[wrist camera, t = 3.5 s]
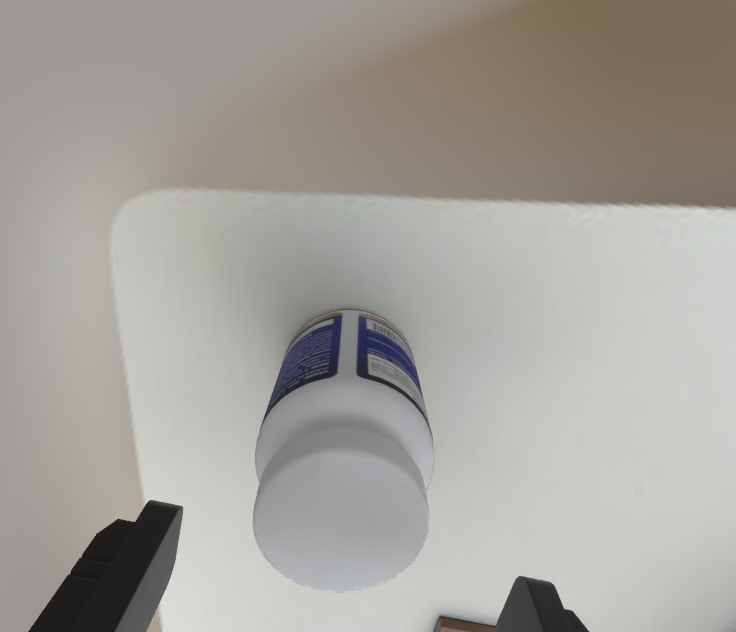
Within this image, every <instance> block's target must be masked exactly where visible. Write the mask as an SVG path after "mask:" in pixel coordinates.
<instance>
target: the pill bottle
mask: <svg viewBox="0 0 736 632" xmlns="http://www.w3.org/2000/svg"><path fill="white" fill-rule="evenodd" d="M255 464H256V472H257V477H258V480H259V487H258V492H257V497H256V501H255V505H254V512H253V530H254V534H255V538H256V541H257V544H258V546H259V548H260V550H261V552H262V554H263V555H264V557H265V558H266V559H267V561H268V562H269V563H270V564H271V565H272V566H273V567H274V568H275V569H276V570H277V571H278V572H280V573H281V574H282V575H284V576H285V577H287V578H289V579H290V580H292V581H294V582H296V583H298V584H300V585H303V586H306V587H309V588H312V589H316V590H321V591H326V592H354V591H361V590H365V589H369V588H372V587H375V586H378V585H381V584H383V583H385V582H387V581H389V580H391V579H393V578H394V577H396V576H397V575H398V574H400V573H401V572H403V571H404V570H405V569H406V568H407V567H408V566H409V565H410V564H411V563H412V562H413V561H414V559H415V558H416V557H417V555H418V554H419V553H420V551H421V549H422V547H423V544H424V542H425V540H426V536H427V533H428V526H429V511H428V504H427V498H426V491H427V489H428V487H429V484H430V482H431V479H432V474H433V469H434V446H433V438H432V433H431V429H430V426H429V421H428V417H427V413H426V408H425V404H424V400H423V395H422V391H421V387H420V383H419V378H418V374H417V370H416V366H415V362H414V358H413V355H412V352H411V350H410V347H409V345H408V343H407V342H406V340H405V338H404V337H403V336H402V334H401V333H400V332H399V331H398V330H397V329H396V328H395V327H394V326H393V325H391V324H390V323H389V322H387V321H386V320H384V319H382V318H381V317H378V316H376V315H373V314H371V313H367V312H363V311H357V310H341V311H334V312H330V313H327V314H324V315H322V316H319V317H317V318H315V319H314V320H312V321H310V322H309V323H308V324H306V325H305V326H304V327H303V328H302V329H301V330H300V331H299V332H298V333H297V334H296V336H295V337H294V338H293V340H292V342H291V343H290V345H289V347H288V349H287V351H286V354H285V357H284V360H283V363H282V366H281V369H280V372H279V375H278V378H277V381H276V384H275V387H274V390H273V393H272V396H271V399H270V402H269V405H268V408H267V410H266V413H265V416H264V419H263V422H262V425H261V428H260V432H259V435H258V439H257V444H256V450H255Z"/></svg>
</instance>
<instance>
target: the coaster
mask: <svg viewBox="0 0 736 632" xmlns="http://www.w3.org/2000/svg"><path fill="white" fill-rule="evenodd" d="M495 630H496V627H491V626H486V625H480V624H475V623H470V622H464V621H459V620H454V619H449V618H443V617H440V618H439V621H438V623H437V626H436V628H435V631H434V632H495Z"/></svg>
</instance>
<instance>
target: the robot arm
mask: <svg viewBox="0 0 736 632" xmlns="http://www.w3.org/2000/svg"><path fill="white" fill-rule="evenodd" d="M182 515H183V507H182V506H179V505H174V504H169V503H164V502H159V501H154V500H150V501H148V503H147V504H146V505H145V507H144V509H143V510H142V512H141V513H140V515H139V517H138V518H137V520H136V522H131V521H126V520H121V519H117V520H116V521H115V522H113V523H112V524H110V525H109V526H107V527H106V528H104V529H103V530H102V531H100V532H99V533H97V534H96V536H95V537H94V539H93V540H92V541H91V543H90V544H89V546H88V547H87V549H86V550H85V551H84V553H83V555H82V557H81V558H80V559H79V560H78V561H77V563H76V564H75V566H74V567H73V569H72V570H71V573H70V575H68V576H67V577H66V579H65V580H64V581H63V583H62V584H61V586H60V587H59V589H58V590H57V592H56V593H55V595H54V596H53V597H52V599H51V600H50V602H49V603H48V604H47V606H46V607H45V609H44V610H43V611H42V613H41V614H40V616H39V617H38V619H37V620H36V622H35V623H34V625H33V626H32V627H31V629H30V630H29V631H28V632H146V631H147V629H148V626H149V624H150V622H151V620H152V618H153V615H154V614H155V611H156V609H157V607H158V605H159V603H160V600H161V598H162V596H163V594H164V592H165V590H166V587H167V585H168V582H169V580H170V577H171V574H172V571H173V567H174V563H175V559H176V553H177V547H178V541H179V534H180V528H181V521H182ZM495 632H589V631H588V630H587V628H586V627H585V626H584V625H583V623H582V622H581V621H580V620H579V618H578V617H577V616H576V615H575V613H574V612H573V611H571V610H566V609H564V607H563V605H562V603H561V600H560V598H559V595H558V593H557V590H556V588H555V586H554V585H553V584H552V583H551V582H548V581H543V580H538V579H533V578H528V577H523V576H519V577H518V578H517V579H516V580H515V582H514V584H513V587H512V589H511V591H510V594H509V596H508V598H507V601H506V603H505V605H504V608H503V610H502V612H501V614H500V617H499V619H498V622H497V625H496V630H495Z"/></svg>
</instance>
